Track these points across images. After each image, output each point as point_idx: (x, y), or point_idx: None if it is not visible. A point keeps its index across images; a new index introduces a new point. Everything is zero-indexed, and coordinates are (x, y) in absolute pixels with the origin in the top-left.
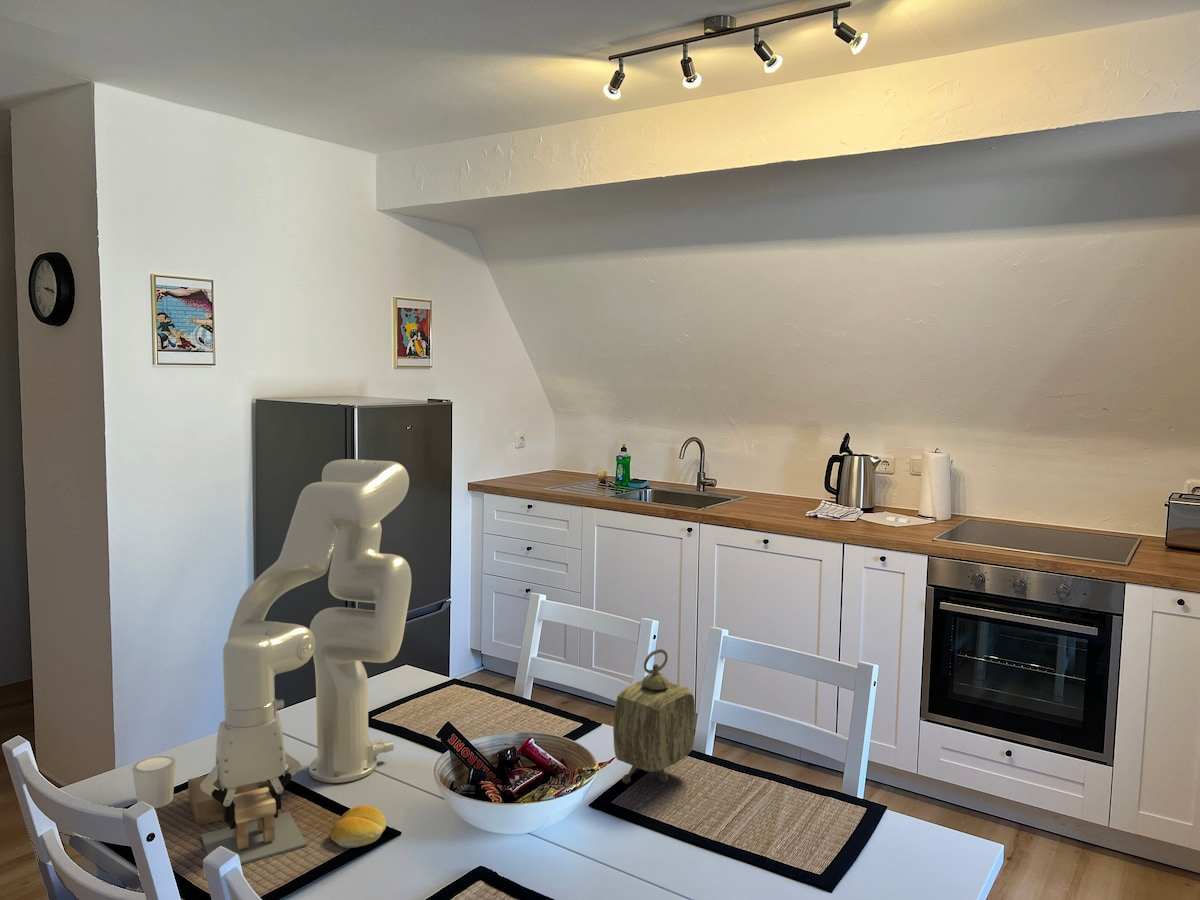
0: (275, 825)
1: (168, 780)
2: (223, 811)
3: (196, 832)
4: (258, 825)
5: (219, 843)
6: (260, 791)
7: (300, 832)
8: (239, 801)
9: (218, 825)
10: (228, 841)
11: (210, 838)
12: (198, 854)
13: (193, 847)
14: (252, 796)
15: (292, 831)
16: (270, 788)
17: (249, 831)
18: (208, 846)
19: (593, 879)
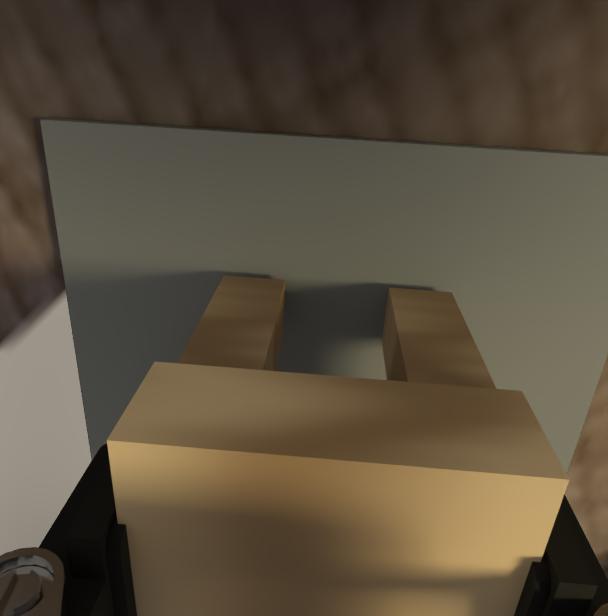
0: (498, 300)
1: None
2: (76, 494)
3: (16, 22)
4: (388, 318)
5: (145, 307)
6: (447, 534)
7: (572, 452)
8: (195, 588)
9: (172, 7)
10: (196, 316)
11: (98, 218)
12: (37, 318)
13: (7, 226)
14: (335, 578)
15: (544, 419)
16: (555, 596)
17: (335, 274)
18: (84, 302)
19: None
